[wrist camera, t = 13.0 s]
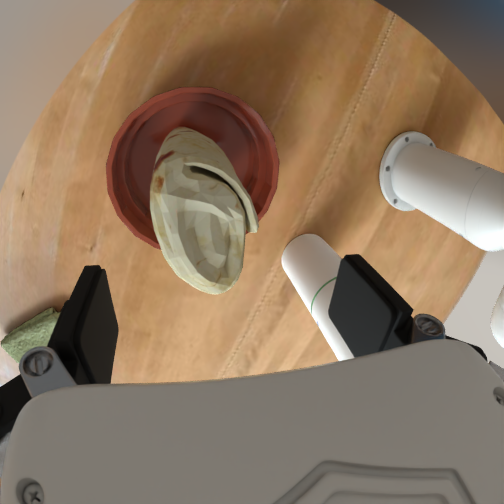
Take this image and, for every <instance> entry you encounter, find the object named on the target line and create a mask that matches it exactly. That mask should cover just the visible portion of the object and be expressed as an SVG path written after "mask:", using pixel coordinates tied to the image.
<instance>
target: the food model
mask: <svg viewBox="0 0 504 504" xmlns="http://www.w3.org/2000/svg"><path fill="white" fill-rule="evenodd" d="M150 211H151V216H152V221H153V226H154V231H155V234H156V237H157V239H158V242H159V245H160V247H161V250H162V253H163V255H164V257H165V259H166V260H167V262H168V263H169V265H170V266H171V267H172V269H173V270H174V272H175V273H176V274H177V276H179V277H180V278H181V279H183V280H184V281H186V282H187V283H188V284H190V285H191V286H193V287H195V288H197V289H199V290H200V291H203V292H206V293H209V294H220V293H223V292H226V291H227V290H229V289H230V288H232V286H233V285H234V284H235V283H236V282H237V280H238V278H239V276H240V273H241V271H242V268H243V258H244V247H245V235H246V230H247V232H254V233H256V232H257V230H258V227H259V224H258V217H257V214H256V211H255V208H254V206H253V203H252V200H251V197H250V196H249V194H248V193H247V191H246V190H245V188H244V187H243V185H242V183H241V182H240V180H239V178H238V177H237V175H236V173H235V170H234V168H233V166H232V164H231V163H230V161H229V159H228V158H227V156H226V155H225V153H224V152H223V151H222V149H221V148H220V147H219V146H218V145H217V144H216V143H215V142H214V141H213V140H212V139H210V138H208V137H206V136H205V135H203V134H201V133H199V132H197V131H195V130H193V129H190V128H187V127H177V128H174V129H173V130H172V131H171V132H170V133H169V134H168V136H167V137H166V138H165V140H164V142H163V144H162V146H161V148H160V150H159V153H158V155H157V157H156V161H155V166H154V170H153V174H152V180H151V185H150Z"/></svg>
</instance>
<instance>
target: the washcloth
mask: <svg viewBox="0 0 504 504" xmlns="http://www.w3.org/2000/svg"><path fill="white" fill-rule="evenodd" d="M60 313H61V312H59V313H58V312H56V310H55V309H54V308H53V307H52V308H48V309H47V310H46V311H44V312H42V313H41V314H39V315H36V316H35V317H34V318H33V319H31V320H28V321H27V322H26V323H23V324H22V325H21V326H19V327H18V328H16V329H14V331H12V332H10V333H9V334H8V335H6V336H5V337H4V339H3V340H2V341H0V342H1V346H2V348H3V349H4V350H5V351H6V352H7V353H8V354H9V355H10V356H11V357H12V358H13V359H14V360H15V361H16V362H17V363H19V362H20V360H21V358H22V356H23V355H24V354H25V353H26V352H27V351H29V350H30V349H32V348H35V347H38V346H46V347H47V345H48V342H49V340H50V337H51V334H52V332H53V329H54V327H55V324H56V322H57V320H58V317H59V315H60Z"/></svg>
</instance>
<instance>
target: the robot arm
mask: <svg viewBox="0 0 504 504" xmlns="http://www.w3.org/2000/svg"><path fill="white" fill-rule="evenodd" d="M379 178H380V186H381V190H382V193H383V195H384V197H385V199H386V200H387V201H388V202H389V203H390V204H391V205H392V206H394V207H395V208H397V209H399V210H402V211H410V210H414V209H419V210H420V211H422V212H424V213H425V214H427V215H429V216H430V217H432V218H434V219H435V220H437V221H439V222H440V223H442V224H443V225H445V226H447V227H448V228H450V229H451V230H453V231H454V232H456V233H458V234H459V235H461V236H462V237H464V238H465V239H467V240H468V241H470V242H471V243H473V244H474V245H475V246H477V247H479V248H480V249H483V250H486V251H500V250H503V249H504V173H501V172H499V171H497V170H494V169H492V168H490V167H487V166H485V165H482V164H480V163H477V162H475V161H472V160H469V159H467V158H464V157H461V156H459V155H456V154H453V153H450V152H447V151H444V150H441V149H438V148H436V146H435V144H434V143H433V141H432V140H431V139H430V138H429V137H428V136H426V135H425V134H422V133H419V132H415V131H408V132H404V133H402V134H400V135H398V136H397V137H396V138H395V139H394V140H392V142H391V143H390V144H389V146H388V147H387V149H386V151H385V153H384V155H383V158H382V161H381V165H380V174H379ZM412 312H413V309H412V308H411V307H410V305H409V304H408V303H407V302H406V301H405V300H404V299H403V298H402V297H401V296H400V295H399V294H398V293H397V292H396V291H395V290H394V289H393V288H392V287H391V286H390V285H389V284H388V283H387V281H386V280H385V279H384V278H383V277H382V276H381V275H380V274H379V273H378V272H377V271H376V270H375V269H374V268H373V267H372V266H371V265H370V264H369V263H368V262H367V261H366V260H365V259H364V258H363V257H361V256H360V255H359V254H353V255H346V256H345V257H344V258H343V259H341V261H340V265H339V270H338V274H337V278H336V282H335V286H334V290H333V294H332V298H331V301H330V305H329V309H328V315H329V318H330V319H331V321H332V323H333V324H334V326H335V327H336V329H337V330H338V332H339V334H340V335H341V337H342V338H343V340H344V342H345V343H346V345H347V346H348V348H349V350H350V351H351V353H352V354H353V356H354V358H352V359H347V360H342V361H337V362H332V363H327V364H322V365H317V366H311V367H306V368H300V369H294V370H287V371H281V372H274V373H267V374H259V375H252V376H243V377H234V378H224V379H213V380H201V381H186V382H165V383H126V384H110V383H111V376H112V369H113V362H114V355H115V349H116V343H117V338H118V323H117V319H116V315H115V311H114V307H113V303H112V298H111V294H110V289H109V285H108V280H107V275H106V271H105V269H101V267H100V266H99V265H92V266H85V267H84V269H83V271H82V273H81V275H80V277H79V279H78V281H77V284H76V286H75V288H74V290H73V292H72V295H71V297H70V299H69V300H67V301H66V302H65V303H64V306H63V308H62V310H61V313H60V315H59V317H58V320H57V322H56V324H55V327H54V329H53V332H52V334H51V337H50V340H49V342H48V345H47V347H46V346H38V347H35V348H32V349H30V350H29V351H27V352H26V353H25V354H24V355H23V356H22V358H21V360H20V362H19V371H20V375H18V376H17V377H15V378H14V379H12V380H10V381H9V382H7V383H6V384H4V385H3V386H1V387H0V504H504V369H503V368H501V367H500V366H498V365H496V364H495V363H493V362H491V361H490V362H489V363H488V362H487V357H486V355H485V354H484V352H483V350H482V349H481V348H479V347H477V346H474V345H471V344H469V343H466V342H463V341H460V340H457V339H454V338H451V337H449V336H446V335H445V328H444V325H443V324H442V322H440V321H439V320H438V319H437V318H435V317H434V316H431V315H428V314H418V315H416V316H415V317H414V318H412V317H411V314H412ZM491 330H492V333H493V335H494V337H495V338H496V340H497V342H498V343H499V344H500V345H501V346H502V347H503V348H504V286H503V288H502V290H501V293H500V295H499V298H498V299H497V302H496V304H495V306H494V309H493V312H492V315H491Z"/></svg>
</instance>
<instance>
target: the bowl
mask: <svg viewBox="0 0 504 504" xmlns="http://www.w3.org/2000/svg"><path fill="white" fill-rule="evenodd" d="M177 127H187V128H190V129H193V130H195V131H197V132H199V133H201V134H203V135H205V136H206V137H208V138H210V139H212V140H213V141H214V142H215V143H216V144H217V145H218V146H219V147H220V148H221V149H222V151H223V152H224V153H225V155H226V156H227V158H228V159H229V161H230V163H231V164H232V166H233V168H234V170H235V173H236V175H237V177H238V178H239V180H240V182H241V183H242V185H243V187H244V188H245V190H246V191H247V193H248V194H249V196H250V197H251V200H252V203H253V206H254V208H255V211H256V214H257V217H258V222H259V221H260V219H261V218H262V217H263V216H264V215H265V213H266V212H267V211H268V208H269V206H270V203H271V201H272V199H273V196H274V194H275V192H276V189H277V184H278V173H279V158H278V153H277V149H276V145H275V140H274V137H273V135H272V133H271V132H270V130H269V128H268V127H267V125H266V124H265V122H264V120H263V119H262V117H261V116H260V115H259V113H258V112H256V111H255V110H254V109H253V108H251V107H250V106H249V105H248V104H246V103H245V102H244V101H243V100H241V99H240V98H239V97H237V96H234V95H232V94H229V93H226V92H223V91H220V90H218V89H215V88H211V87H180V88H177V89H174V90H171V91H168V92H165V93H162V94H159V95H156V96H153V97H152V98H150V99H149V100H148V101H146V102H145V103H144V104H142V105H141V106H140V107H138V108H137V109H136V110H135V111H133V112H132V113H131V114H130V115H129V116H128V117H127V119H126V120H125V122H124V123H123V125H122V126H121V128H120V129H119V131H118V132H117V134H116V135H115V137H114V138H113V141H112V145H111V148H110V152H109V156H108V159H107V163H106V175H107V189H108V194H109V197H110V199H111V201H112V204H113V206H114V209H115V211H116V213H117V216H118V217H119V218H120V219H121V221H122V222H123V223H124V224H125V225H126V226H127V227H128V229H129V230H130V231H131V232H132V233H133V234H134V235H135V236H136V237H138V238H140V239H141V240H143V241H145V242H146V243H148V244H150V245H151V246H153V247H155V248H157V249H161V247H160V245H159V242H158V239H157V237H156V234H155V231H154V226H153V221H152V216H151V211H150V185H151V180H152V174H153V170H154V166H155V161H156V157H157V155H158V153H159V150H160V148H161V146H162V144H163V142H164V140H165V138H166V137H167V136H168V134H169V133H170V132H171V131H172V130H173V129H174V128H177ZM247 233H249V232H247V230H246V234H247Z"/></svg>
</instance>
